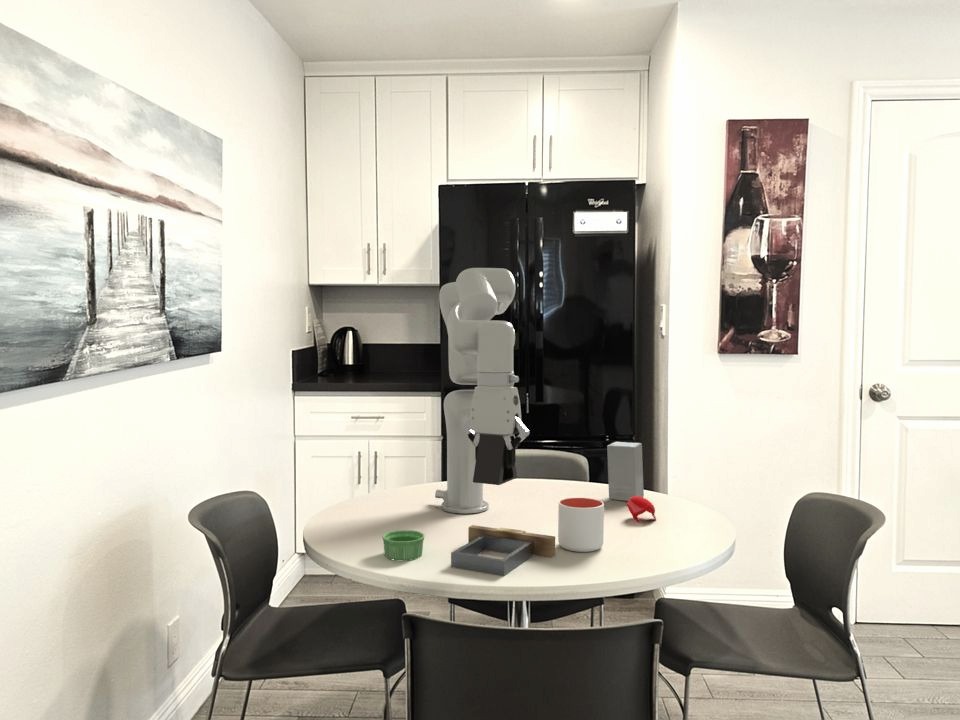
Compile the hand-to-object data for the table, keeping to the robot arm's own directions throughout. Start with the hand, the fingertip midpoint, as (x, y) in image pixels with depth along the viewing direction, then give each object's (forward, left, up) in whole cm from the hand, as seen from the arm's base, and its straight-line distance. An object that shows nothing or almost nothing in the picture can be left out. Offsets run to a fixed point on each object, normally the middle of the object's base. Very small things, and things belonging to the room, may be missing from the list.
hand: (495, 465), depth 166 cm
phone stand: (0, 0, -3) cm, 3 cm away
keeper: (0, -1, -20) cm, 20 cm away
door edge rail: (0, +8, -20) cm, 21 cm away
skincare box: (+9, +66, -20) cm, 69 cm away
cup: (+13, +17, -20) cm, 29 cm away
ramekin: (-19, -6, -20) cm, 28 cm away
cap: (+19, +46, -20) cm, 54 cm away
